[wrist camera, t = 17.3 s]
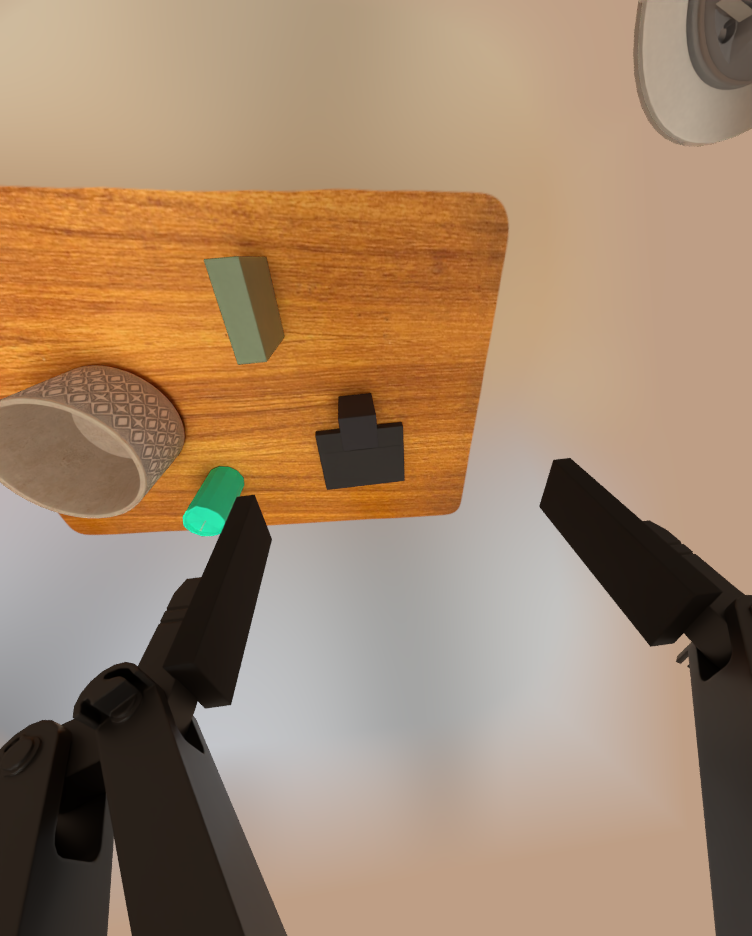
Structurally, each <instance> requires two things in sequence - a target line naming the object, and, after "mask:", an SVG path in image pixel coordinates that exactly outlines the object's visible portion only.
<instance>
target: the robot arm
mask: <svg viewBox="0 0 752 936" xmlns="http://www.w3.org/2000/svg"><path fill="white" fill-rule="evenodd" d="M686 35H687V46H688V52H689V56H690V60H691V63H692V66H693V68H694V70H695V72H696V74H697V75H698V76H699V77H700V79H701V80H702V81H703V82H704V83H706V84H707V85H709V86H711V87H713V88H716V89H721V90H732V89H737V88H741V87H744V86H747V85H749V84H752V0H689V2H688V10H687V23H686ZM540 508H541V509H542V511H543V512H544V513H545V514H546V516H547V517H548V518H549V519H550V521H551V522H552V523H553V525H554V526H555V527H556V528H557V529H558V531H559V532H560V533H561V535H562V536H563V537H564V538H565V540H566V541H567V542H568V543H569V545H570V546H571V547H572V548H573V549H574V551H575V552H576V553H577V555H578V556H579V557H580V558H581V560H582V561H583V562H584V564H585V565H586V566H587V567H588V568H589V570H590V571H591V572H592V574H593V575H594V576H595V577H596V579H597V580H598V581H599V582H600V583H601V585H602V586H603V587H604V589H605V590H606V591H607V592H608V594H609V595H610V596H611V597H612V599H613V600H614V601H615V602H616V604H617V605H618V606H619V608H620V609H621V610H622V611H623V613H624V614H625V615H626V616H627V617H628V619H629V620H630V621H631V622H632V624H633V625H634V626H635V628H636V629H637V630H638V631H639V633H640V634H641V635H642V636H643V638H644V639H645V640H646V641H647V643H648V644H649V645H650V646H658V645H665V644H672V643H675V642H676V641H677V639H678V638H679V637H680V636H681V635H682V634H683V633H684V634H685V635H686V636H687V637H688V638H689V639H690V640H691V641H692V642H691V643H690V644H689V645H688V646H687V647H686V648H685V649H684V650H683V651H682V652H681V653H680V654H679V655H678V656H677V660H676V662H678V663H682V662H683V661H684V660H685V659H686V658H687V657H688V656H689V665H688V667H689V668H690V676H691V686H692V696H693V706H694V716H695V727H696V737H697V747H698V757H699V767H700V778H701V788H702V798H703V807H704V818H705V829H706V839H707V849H708V858H709V869H710V879H711V889H712V900H713V910H714V920H715V930H716V936H752V595H745V594H743V593H742V592H741V591H739V590H738V589H737V588H736V587H734V586H733V585H732V584H731V583H730V582H728V581H727V580H726V579H725V578H724V577H722V576H721V575H720V574H718V572H716V571H715V570H714V569H713V568H712V567H710V566H709V565H708V564H707V563H706V562H704V561H703V560H702V559H701V558H700V557H699V556H697V555H696V554H693V553H692V552H693V551H691V550H690V549H689V548H688V547H686V546H685V545H684V544H681V542H680V541H679V540H678V539H677V538H676V537H675V536H673V535H672V534H671V533H670V532H669V531H667V530H666V529H664V528H662V527H660V526H659V525H657V524H655V523H653V522H651V521H642V520H640V519H639V518H638V517H637V516H636V515H635V514H634V513H632V512H631V511H630V510H629V509H628V508H627V507H626V506H624V505H623V504H622V503H621V502H620V501H619V500H618V499H616V498H615V497H614V496H613V495H612V494H611V493H610V492H608V491H607V490H606V489H605V488H604V487H603V486H602V485H600V484H599V483H598V482H597V481H596V480H595V479H593V478H592V477H591V476H590V475H589V474H588V473H587V472H586V471H584V470H583V469H582V468H581V467H580V466H579V465H577V464H576V463H575V462H574V461H573V460H572V459H571V458H567V459H558V460H553V463H552V466H551V470H550V473H549V476H548V479H547V483H546V486H545V489H544V493H543V496H542V499H541V503H540ZM271 541H272V538H271V536H270V533H269V530H268V528H267V525H266V523H265V520H264V518H263V515H262V512H261V510H260V507H259V505H258V502H257V500H256V497H255V495H249V496H241V497H236V499H235V502H234V504H233V506H232V509H231V511H230V513H229V515H228V518H227V520H226V522H225V525H224V527H223V529H222V531H221V534H220V536H219V539H218V541H217V543H216V545H215V548H214V550H213V552H212V554H211V557H210V559H209V561H208V563H207V566H206V568H205V570H204V572H203V575H202V577H199V578H192V579H186V581H185V582H184V583H183V584H182V585H181V586H180V587H179V588H178V589H177V591H176V592H175V593H174V595H173V597H172V599H171V601H170V603H169V605H168V607H167V611H165V613H164V615H163V617H162V619H161V623H160V624H159V625H158V627H157V629H156V631H155V633H154V635H153V637H152V639H151V641H150V643H149V645H148V647H147V649H146V651H145V653H144V655H143V657H142V659H141V661H140V663H139V665H138V666H136V665H135V664H133V663H128V662H124V663H120V664H116V665H113V666H112V667H110V668H108V669H106V670H104V671H103V672H101V673H100V674H99V675H98V676H97V677H96V678H94V679H93V680H92V681H91V682H90V683H89V684H88V685H87V686H86V688H85V689H84V690H83V691H82V693H81V694H80V696H79V698H78V700H77V702H76V704H75V706H74V712H73V718H74V719H73V720H71V721H69V722H66V723H64V724H62V725H60V724H58V723H56V722H54V721H52V720H42V721H39V722H36V723H34V724H31V725H29V726H28V727H26V728H25V729H23V730H22V731H20V732H19V733H17V734H16V735H14V736H13V737H12V738H11V739H10V740H9V741H8V742H7V743H6V744H5V745H4V746H3V747H2V748H1V749H0V936H107V929H108V915H109V900H110V885H111V870H112V856H113V839H115V845H116V850H117V856H118V861H119V867H120V872H121V877H122V883H123V889H124V895H125V900H126V906H127V911H128V916H129V921H130V927H131V933H132V936H287V934H286V932H285V929H284V927H283V924H282V922H281V920H280V918H279V915H278V913H277V910H276V908H275V905H274V903H273V901H272V898H271V896H270V894H269V891H268V889H267V887H266V884H265V882H264V879H263V877H262V875H261V872H260V870H259V868H258V865H257V863H256V860H255V858H254V856H253V853H252V851H251V848H250V846H249V844H248V841H247V839H246V837H245V834H244V832H243V829H242V827H241V825H240V823H239V820H238V818H237V815H236V813H235V810H234V808H233V806H232V804H231V801H230V799H229V796H228V794H227V792H226V789H225V787H224V784H223V782H222V780H221V777H220V775H219V773H218V770H217V768H216V766H215V763H214V761H213V758H212V756H211V753H210V751H209V749H208V746H207V744H206V742H205V739H204V737H203V735H202V732H201V730H200V728H199V725H198V723H197V720H196V719H195V717H194V716H193V714H194V711H195V708H196V705H197V702H199V703H200V704H201V705H202V706H203V707H204V708H212V707H219V706H226V705H231V702H232V699H233V695H234V690H235V687H236V682H237V678H238V674H239V670H240V666H241V662H242V658H243V654H244V650H245V646H246V642H247V638H248V634H249V630H250V626H251V622H252V618H253V614H254V610H255V606H256V602H257V598H258V593H259V589H260V585H261V581H262V577H263V573H264V569H265V565H266V561H267V557H268V553H269V549H270V545H271Z"/></svg>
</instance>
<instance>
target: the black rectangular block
mask: <svg viewBox="0 0 752 936" xmlns="http://www.w3.org/2000/svg"><path fill="white" fill-rule="evenodd" d="M338 421H339V427H340V434H341V440H342V446H343V451H350V450H358V449H367V448H376V447H379V445H378V433H377V421H376V413H375V408H374V404H373V399H372V395H371V393H367V394H358V395H348V396H339V401H338Z"/></svg>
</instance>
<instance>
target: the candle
mask: <svg viewBox="0 0 752 936" xmlns="http://www.w3.org/2000/svg"><path fill="white" fill-rule="evenodd" d="M243 487H244V478H243V477H242V475H241V474H240V473H239V472H238V471H236V470H234V469H232V468H230V467H222V466H219V467H216V468H214V469H212V470H211V471H210V473H209V474H208V476H207V478H206V479H205V481H204V483H203V484H202V486H201V487H200V489H199V491H198V492H197V494H196V496H195V497H194V499H193V501H192V502H191V504H190V505H189V507H188V509H187V510H186V512H185V514H184V515H183V524H184V527H185V528H187V529H188V530H189V531H190V532H192V533H195V534H197V535H200V536H214V535H218V534H221V531H222V529H223V527H224V525H225V522H226V520H227V518H228V515H229V513H230V511H231V509H232V506H233V504H234V502H235V499H236V497H239V496H240V494H241V491H242V489H243Z"/></svg>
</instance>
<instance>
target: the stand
mask: <svg viewBox="0 0 752 936" xmlns="http://www.w3.org/2000/svg"><path fill="white" fill-rule="evenodd" d="M204 262H205V265H206V268H207V271H208V275H209V278H210V281H211V284H212V287H213V290H214V293H215V296H216V299H217V302H218V305H219V308H220V311H221V314H222V317H223V320H224V323H225V326H226V330H227V333H228V336H229V339H230V342H231V345H232V348H233V351H234V354H235V357H236V360H237V363H238V365H241V364H250V363H260V362H267V361H268V359H269V358H270V357H271V355H272V354H273V352H274V351H275V350H276V348H277V347H278V345H279V344H280V343H281V341H282V340H283V338H284V332H283V328H282V324H281V319H280V315H279V311H278V306H277V302H276V298H275V293H274V289H273V284H272V280H271V276H270V271H269V267H268V263H267V258H266V257H255V256H234V257H223V258H212V259H204Z"/></svg>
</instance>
